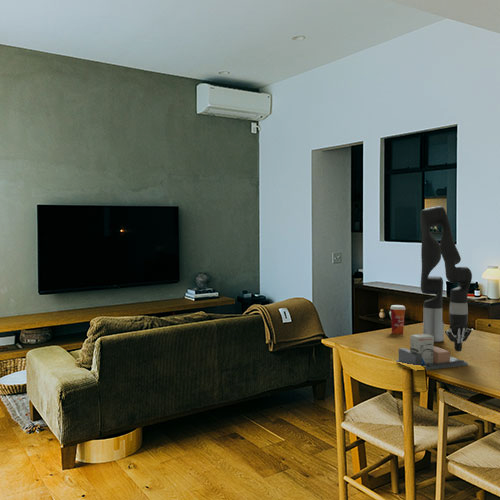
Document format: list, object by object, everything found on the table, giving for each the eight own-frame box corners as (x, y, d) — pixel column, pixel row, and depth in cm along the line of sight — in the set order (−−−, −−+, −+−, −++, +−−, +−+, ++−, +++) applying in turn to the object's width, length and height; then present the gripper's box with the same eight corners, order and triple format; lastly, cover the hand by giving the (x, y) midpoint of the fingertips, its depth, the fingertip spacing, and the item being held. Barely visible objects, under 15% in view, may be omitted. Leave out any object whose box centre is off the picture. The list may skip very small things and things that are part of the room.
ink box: (416, 364, 217) (416, 337, 216) (409, 361, 222) (409, 334, 221) (434, 363, 219) (434, 335, 219) (427, 360, 224) (427, 333, 223)
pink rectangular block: (433, 356, 229) (433, 345, 229) (450, 362, 219) (450, 351, 218) (421, 357, 227) (421, 346, 227) (438, 364, 217) (438, 352, 216)
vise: (445, 357, 233) (445, 343, 233) (467, 365, 220) (468, 350, 219) (396, 362, 225) (396, 348, 225) (416, 371, 212) (416, 355, 211)
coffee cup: (397, 335, 280) (397, 307, 279) (386, 332, 287) (386, 305, 286) (408, 333, 284) (409, 306, 283) (398, 330, 291) (398, 304, 290)
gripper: (464, 309, 232) (464, 347, 233) (440, 311, 228) (440, 350, 229) (477, 312, 225) (476, 351, 226) (452, 314, 221) (451, 354, 222)
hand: (458, 351), depth 227 cm, fingers closed
